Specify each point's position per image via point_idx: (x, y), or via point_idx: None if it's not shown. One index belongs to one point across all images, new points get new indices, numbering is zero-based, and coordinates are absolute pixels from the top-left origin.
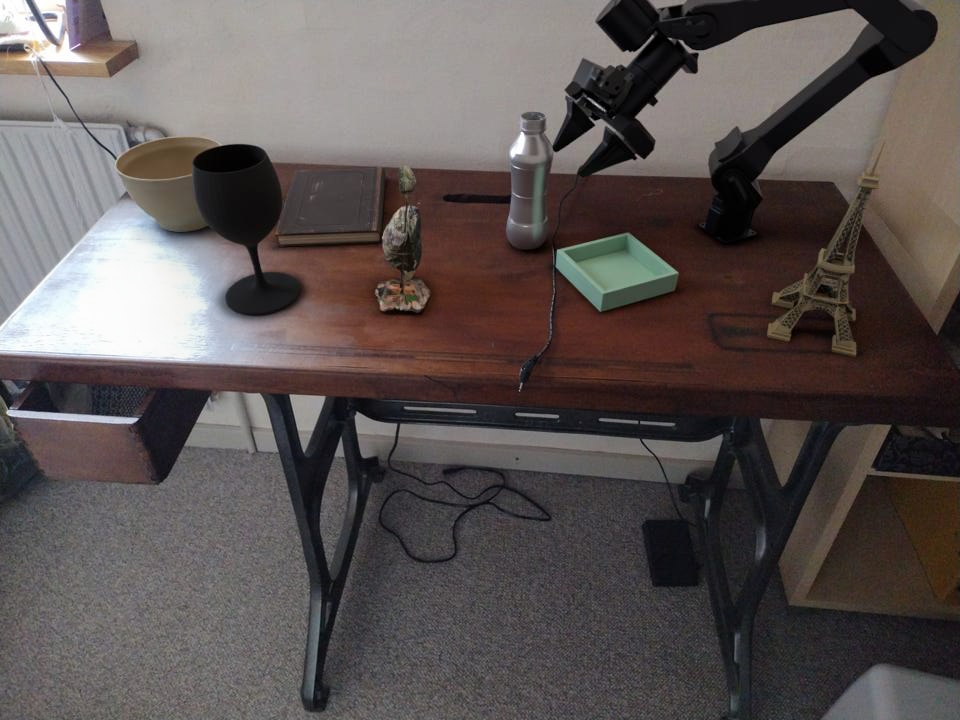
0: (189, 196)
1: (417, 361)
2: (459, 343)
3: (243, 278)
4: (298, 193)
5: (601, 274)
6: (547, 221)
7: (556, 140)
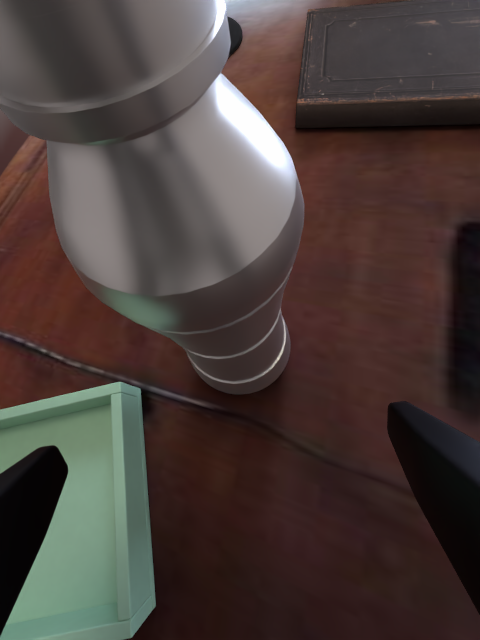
0: None
1: (19, 173)
2: (24, 214)
3: (232, 19)
4: (445, 6)
5: (68, 476)
6: (215, 383)
7: (426, 429)
